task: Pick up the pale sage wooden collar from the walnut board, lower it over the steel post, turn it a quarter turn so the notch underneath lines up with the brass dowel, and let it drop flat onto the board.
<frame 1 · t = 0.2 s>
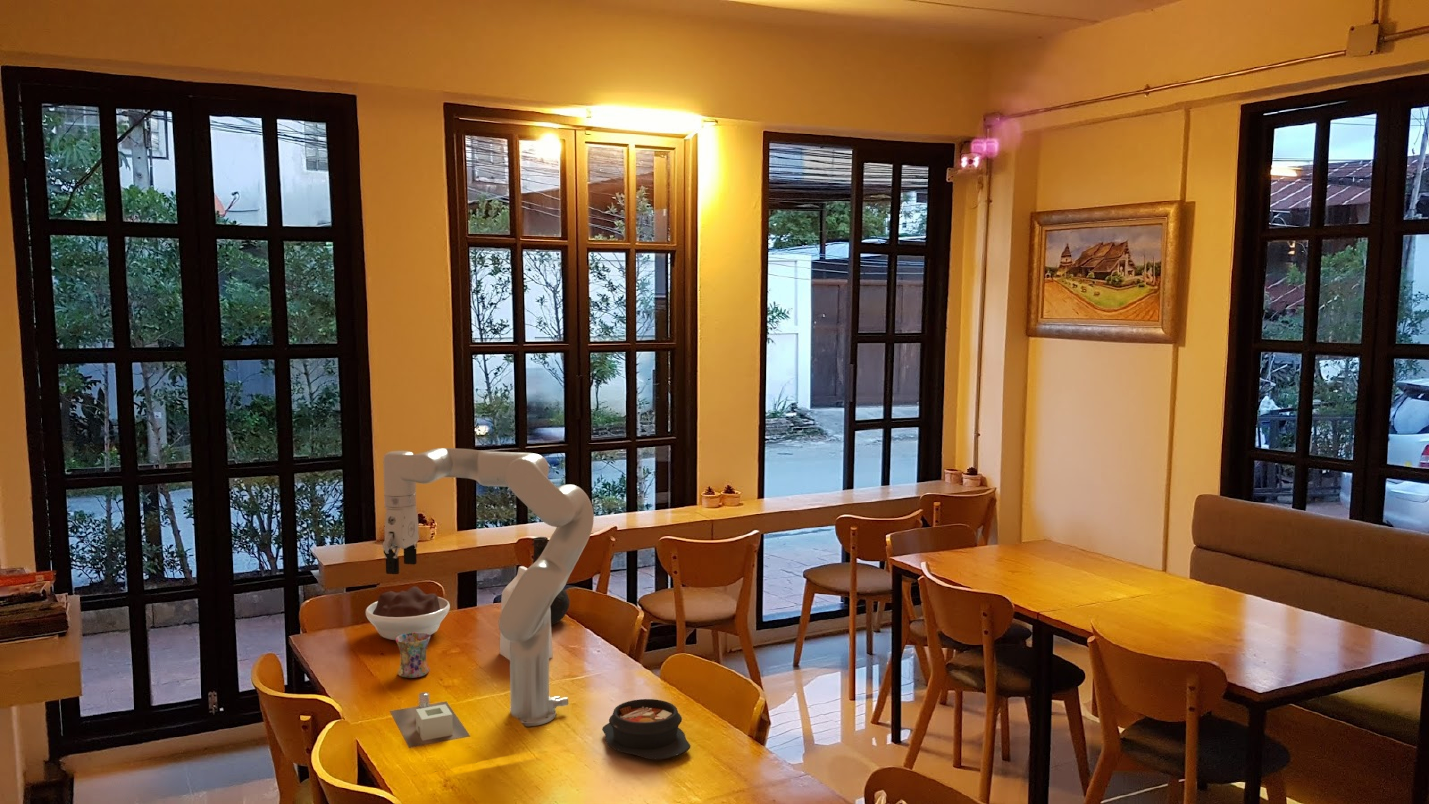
hand: (401, 568, 256), 37 cm above the table, tool pointing down, fingers open, 9 cm apart
post: (424, 721, 253), resting on board
milk: (526, 656, 302), on the table
glass bottle: (542, 623, 333), on the table
board: (429, 729, 248), on the table
casserole: (645, 746, 240), on the table
mug: (411, 674, 286), on the table
collar: (434, 732, 243), point 1 cm above the table, touching board
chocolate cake: (408, 636, 319), on the table
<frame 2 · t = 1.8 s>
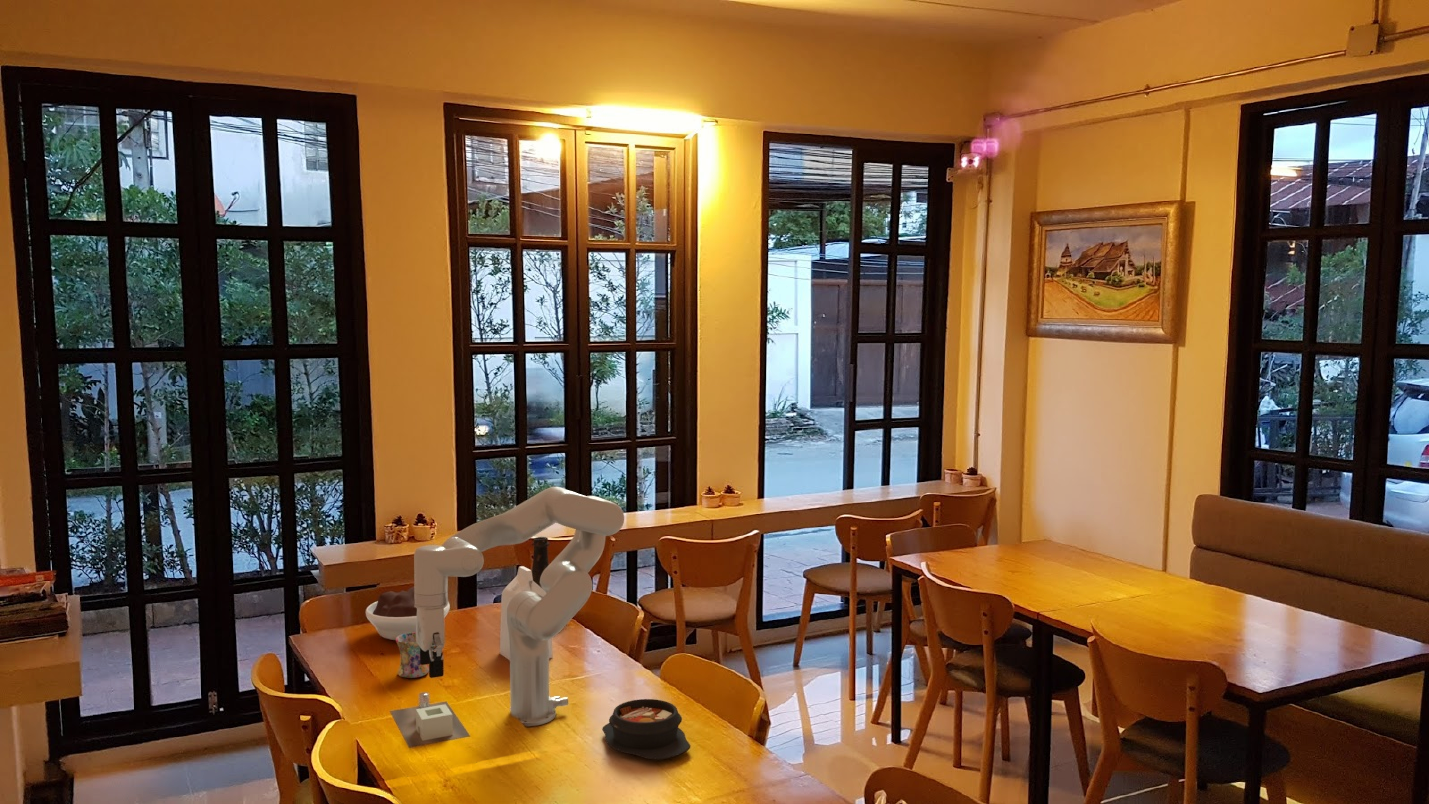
hand: (431, 670, 241), 17 cm above the table, tool pointing down, fingers open, 9 cm apart
nothing on the table moved.
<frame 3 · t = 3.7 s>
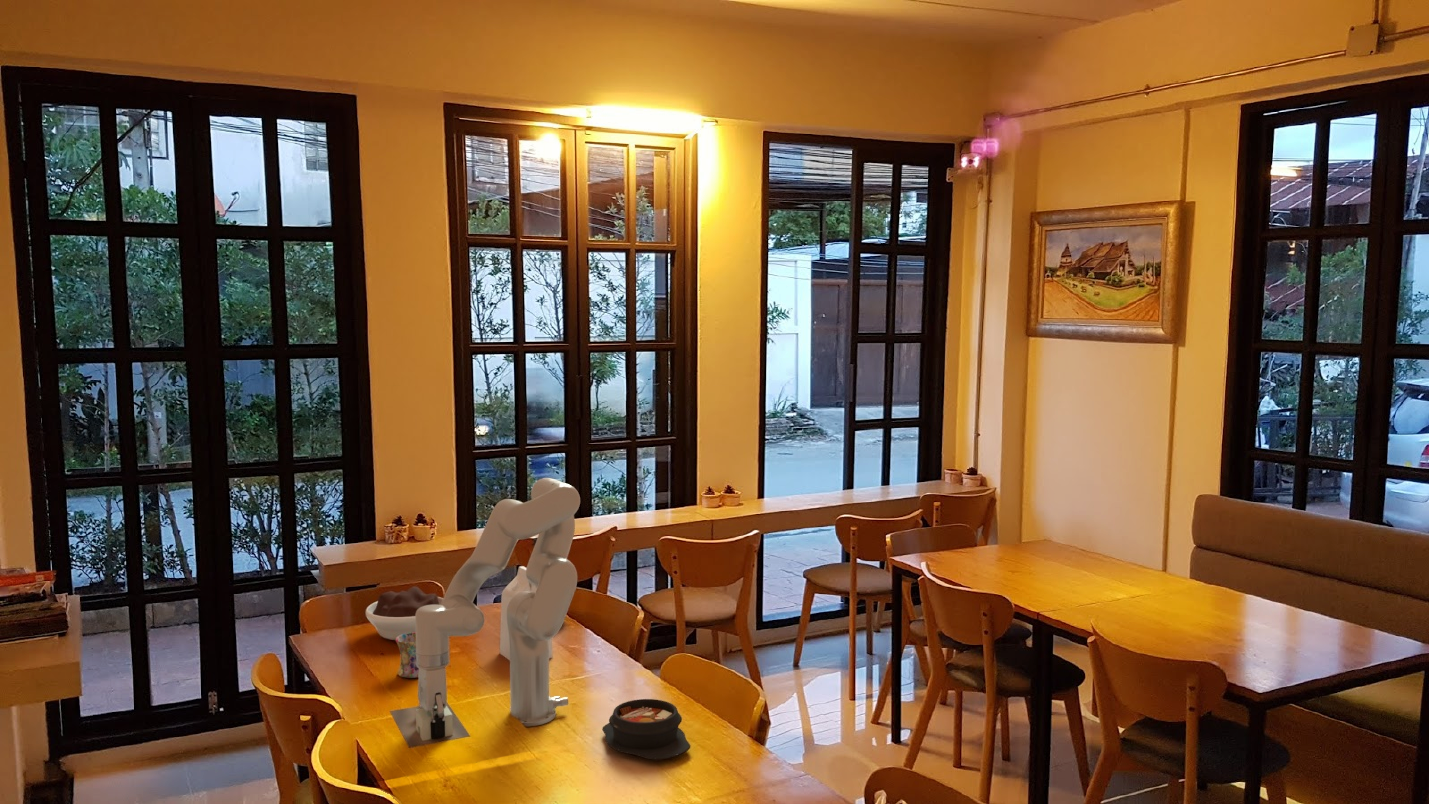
hand: (434, 731, 243), 2 cm above the table, tool pointing down, fingers closed on collar, 7 cm apart
collar: (434, 732, 243), point 1 cm above the table, touching board, gripper
everything else where it was.
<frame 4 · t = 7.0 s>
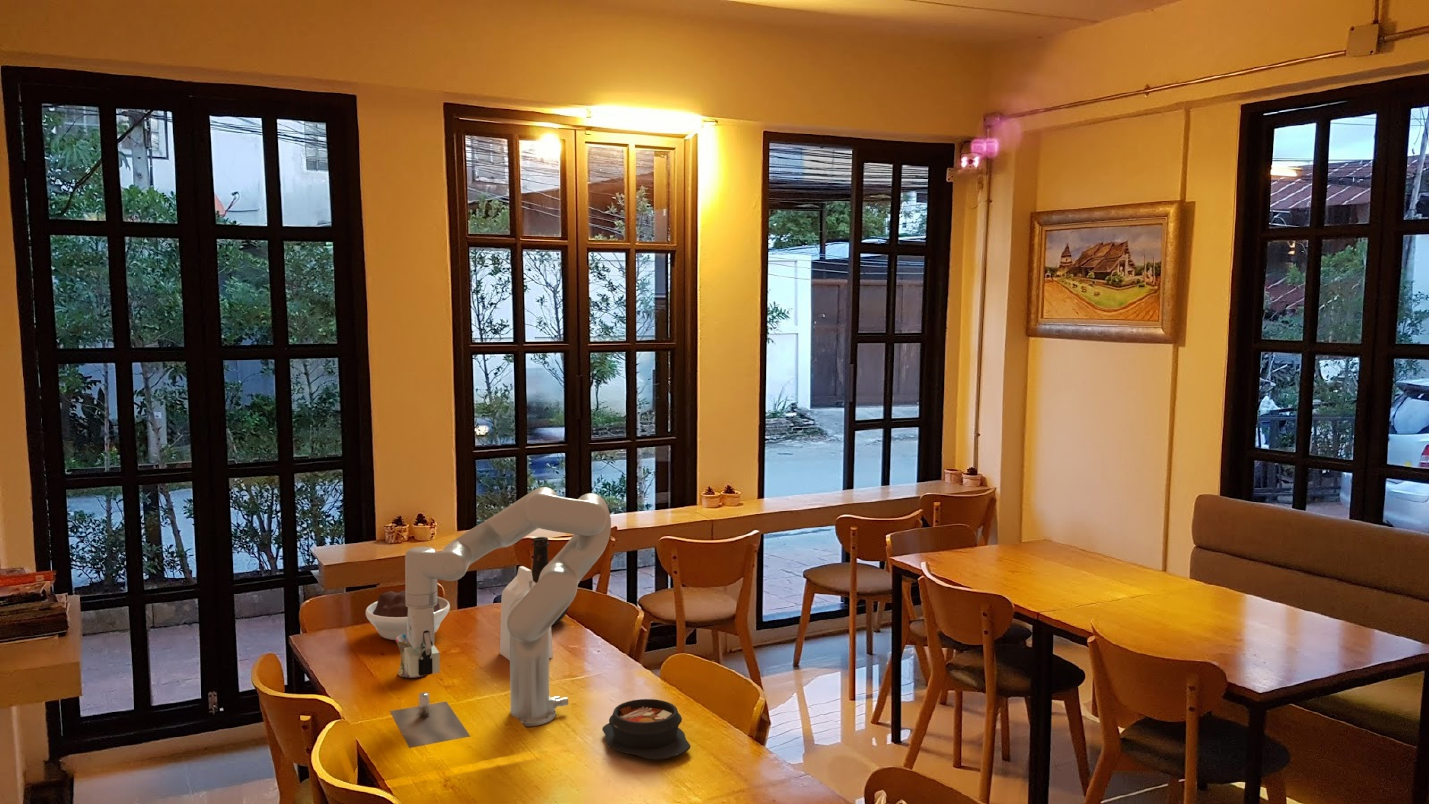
hand: (422, 669, 252), 13 cm above the table, tool pointing down, fingers closed on collar, 7 cm apart
collar: (421, 670, 252), point 13 cm above the table, touching gripper
everything else where it was.
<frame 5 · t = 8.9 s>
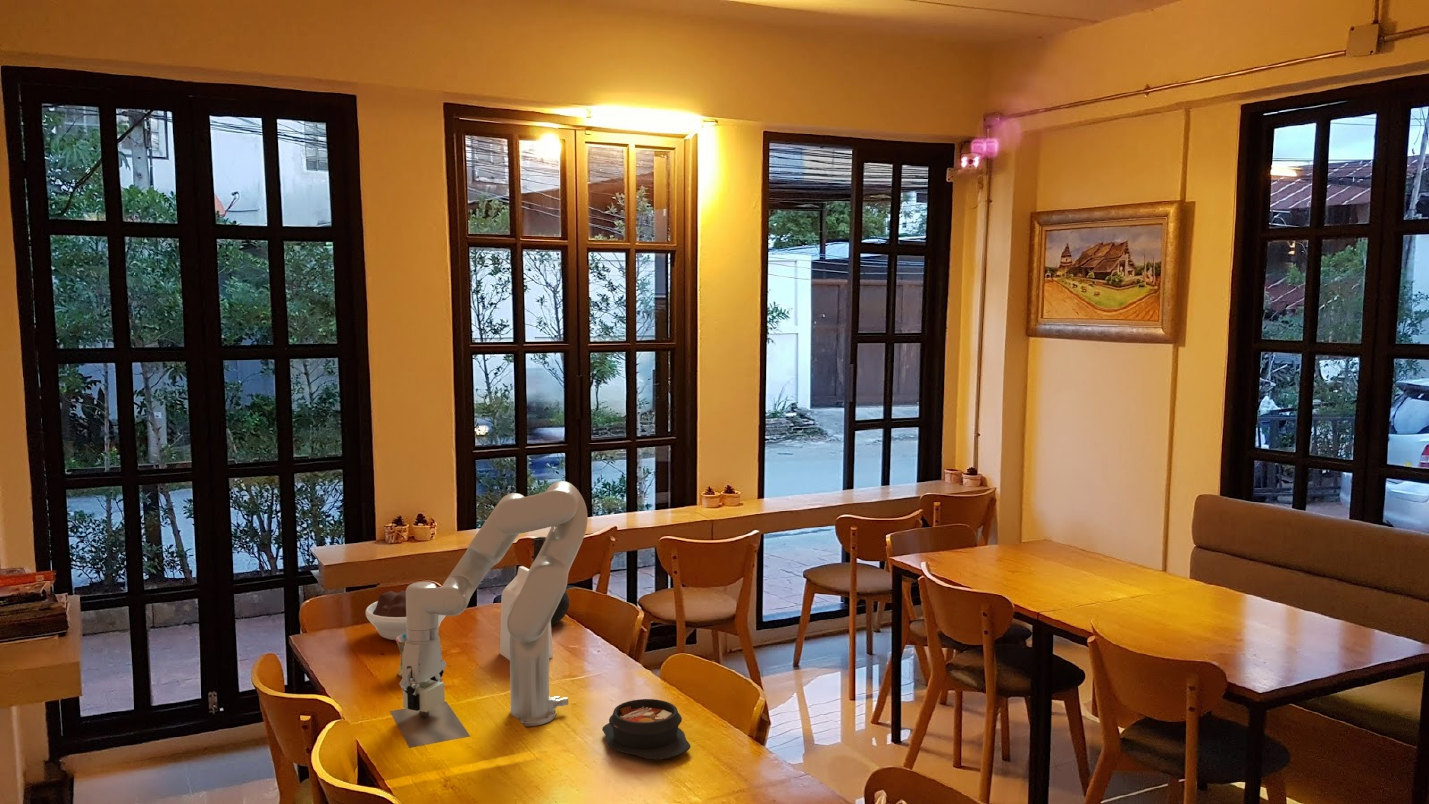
hand: (424, 703, 252), 5 cm above the table, tool pointing down, fingers closed on collar, 7 cm apart
collar: (424, 704, 252), point 4 cm above the table, touching gripper
everything else where it was.
when the fingers open (3 cm above the table, at t = 10.4 s): collar stays where it is, resting on board.
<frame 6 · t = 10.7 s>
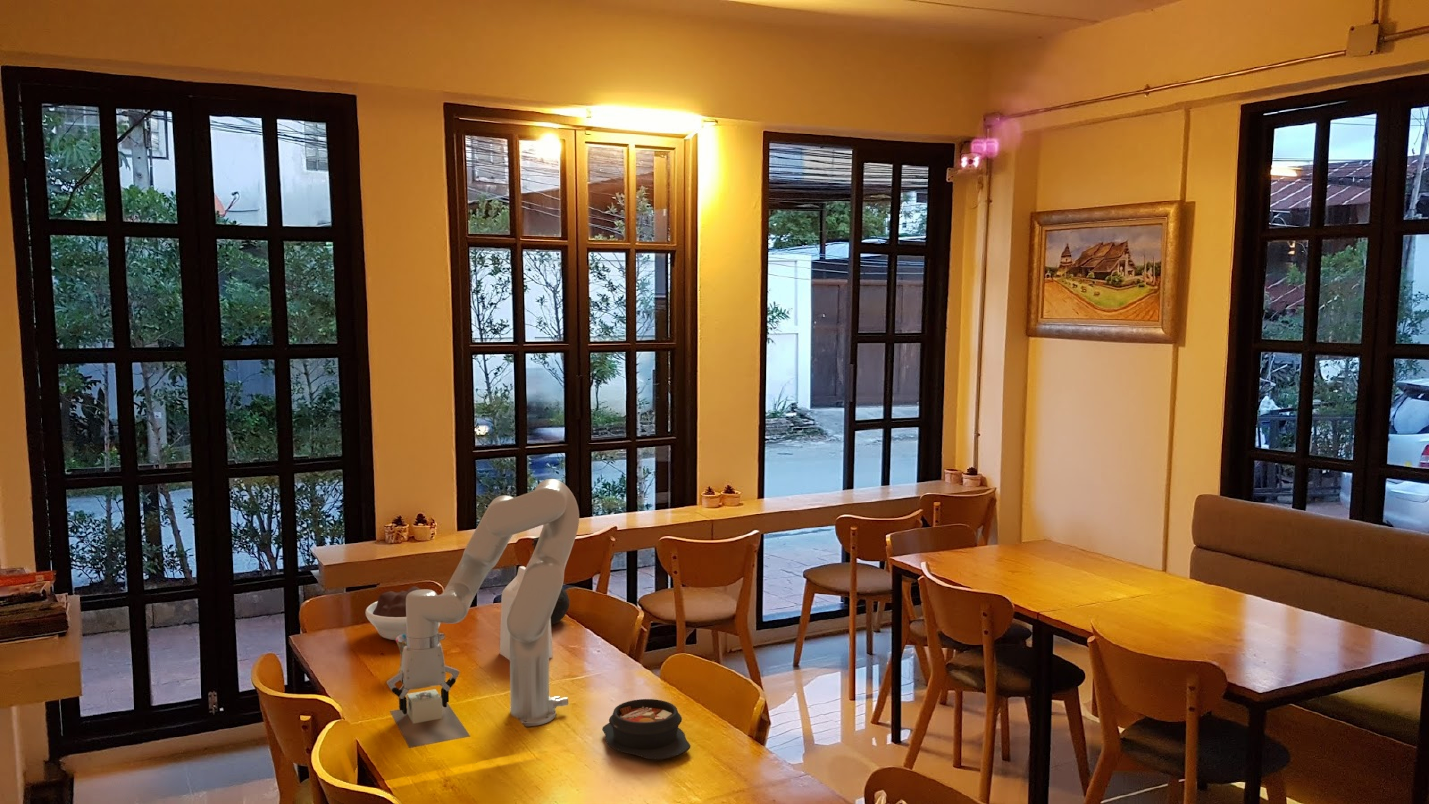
hand: (424, 708, 253), 3 cm above the table, tool pointing down, fingers open, 9 cm apart
collar: (424, 715, 253), point 1 cm above the table, touching board
everything else where it was.
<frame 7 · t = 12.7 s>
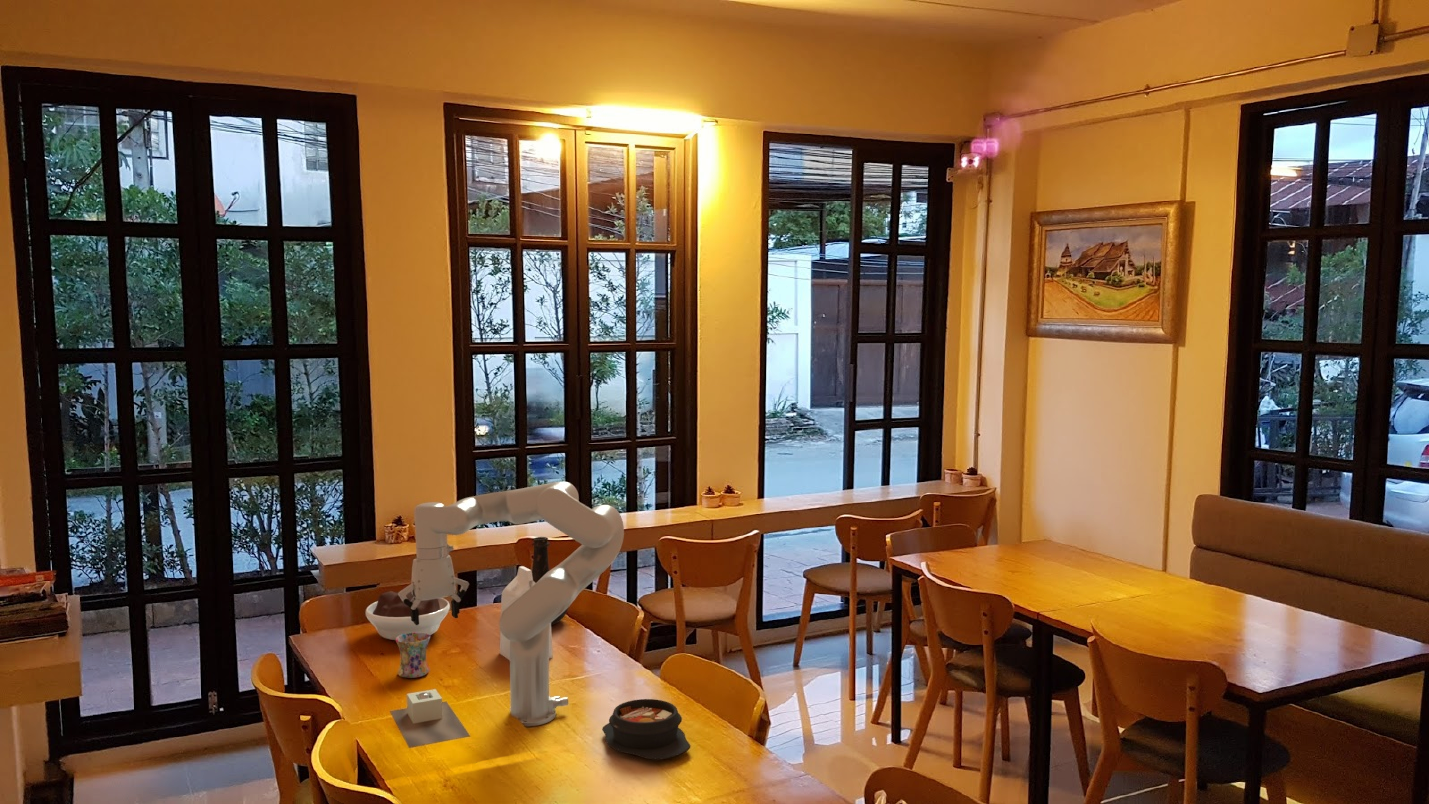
hand: (435, 620, 256), 24 cm above the table, tool pointing down, fingers open, 9 cm apart
nothing on the table moved.
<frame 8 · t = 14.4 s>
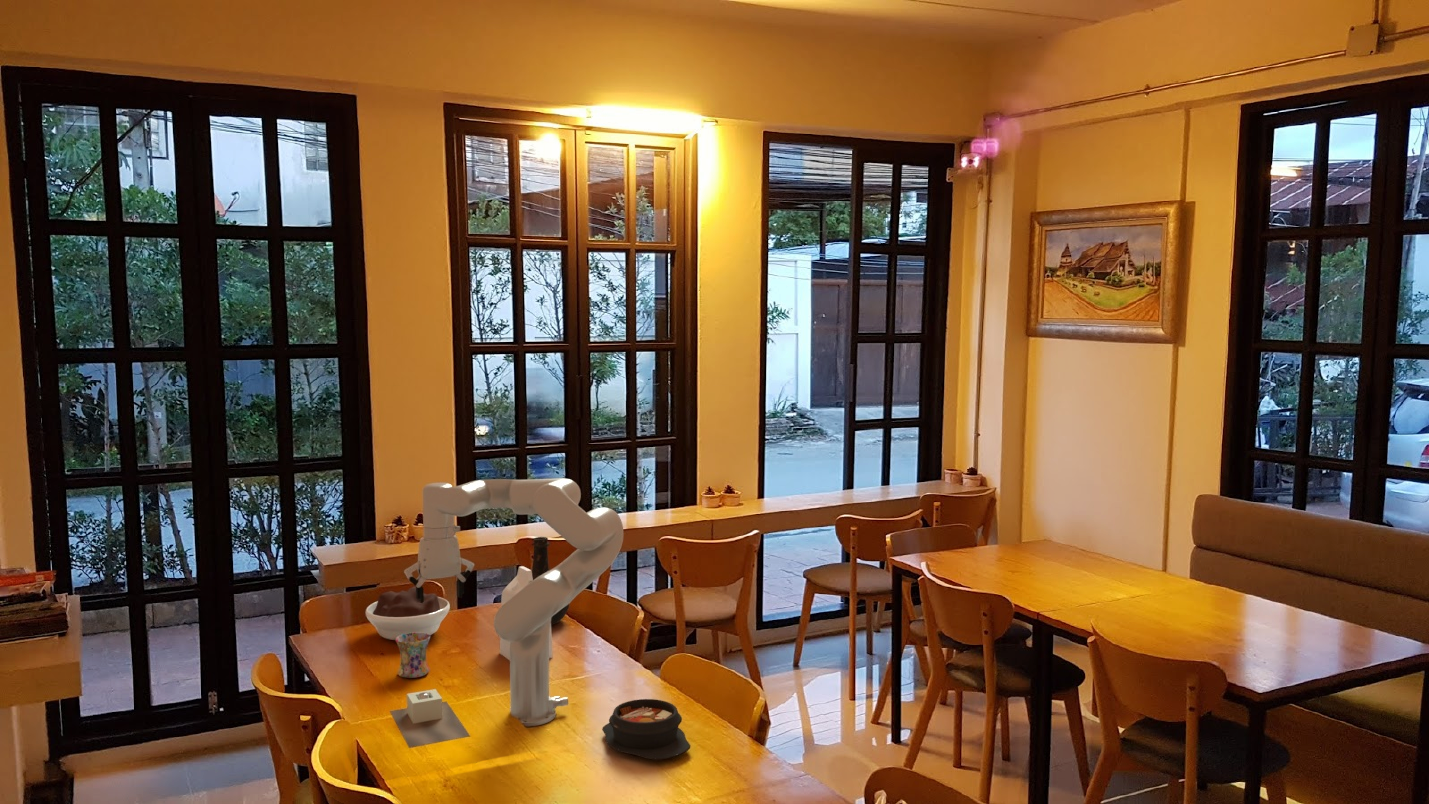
hand: (440, 599, 259), 28 cm above the table, tool pointing down, fingers open, 9 cm apart
nothing on the table moved.
at the end: collar 0.1 cm from the target spot on the board, point 1.5 cm above the board's base; collar tilted 0°; the gripper is holding nothing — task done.
